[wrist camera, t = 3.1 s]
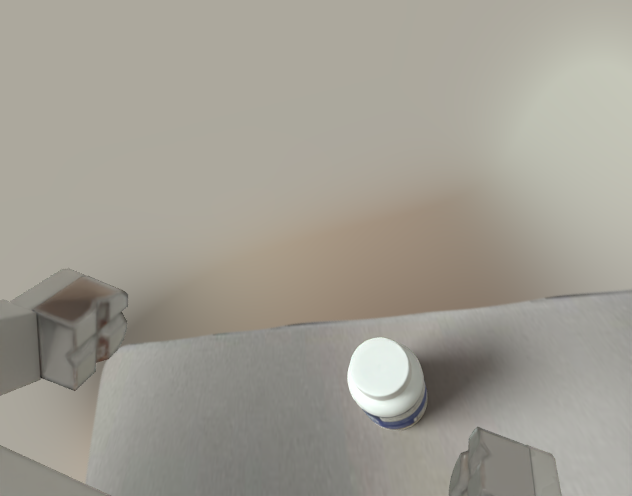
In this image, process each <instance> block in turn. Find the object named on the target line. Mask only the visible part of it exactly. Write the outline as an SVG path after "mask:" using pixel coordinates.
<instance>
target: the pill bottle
mask: <svg viewBox="0 0 632 496" xmlns="http://www.w3.org/2000/svg"><path fill="white" fill-rule="evenodd" d="M348 386H349V389H350V392H351V395H352V396H353V398H354V400H355V401H356V403H357V404H358V405H359V406H360V407H361V408H362V410H363V411H364V412H365V413H366V414H367V415H368V417H369V418H370V419H371V420H372V421H373V422H375V423H376V424H377V425H379V426H380V427H382V428H385V429H388V430H403V429H406V428H409V427H411V426H413V425H414V424H416V423H417V422H418V421H419V420H420V418H421V417H422V416H423V414H424V412H425V409H426V406H427V397H428V395H427V388H426V384H425V380H424V375H423V371H422V368H421V365H420V363H419V361H418V359H417V357H416V356H415V355H414V353H413V352H412V351H411V350H410V349H408V348H407V347H406V346H404V345H402V344H400V343H398V342H395V341H393V340H391V339H388V338H383V337H378V338H372V339H369V340H367V341H365V342H363V343H362V344H361V345H360V346H358V348H357V349H356V350H355V352H354V353H353V355H352V358H351V362H350V365H349V369H348Z"/></svg>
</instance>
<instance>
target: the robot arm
mask: <svg viewBox="0 0 632 496" xmlns="http://www.w3.org/2000/svg"><path fill="white" fill-rule="evenodd" d="M127 306H128V294H127V293H126V292H125V291H123V290H121V289H119V288H116V287H114V286H111V285H109V284H106V283H104V282H102V281H99V280H97V279H94V278H92V277H90V276H86V275H84V274H81V273H79V272H76V271H74V270H71V269H62V270H60V271H58V272H57V273H55V274H53V275H52V276H50V277H49V278H47V279H45V280H44V281H42V282H41V283H39V284H37V285H36V286H34V287H33V288H31V289H29V290H28V291H26V292H24V293H23V294H21V295H20V296H18V297H16V298H15V299H13V300H12V301H10V302H9V301H6V300H0V396H1V395H3V394H6V393H8V392H11V391H13V390H16V389H18V388H21V387H23V386H26V385H28V384H31V383H33V382H36V381H38V380H40V378H43V379H45V380H48V381H51V382H53V383H56V384H58V385H61V386H63V387H66V388H69V389H71V390H74V391H75V390H77V389H78V388H79V387H80V386H81V385H82V384H83V383H84V382H85V381H86V380H87V379H88V378H89V377H90V376H91V375H92V374H94V372H95V371H96V363H97V362H100V361H104V360H107V359H109V358H110V357H111V356H112V355H113V354H114V353H115V352H116V351H117V350H118V348H119V347H120V345H121V343H122V341H123V340H124V336H125V333H126V329H127V321H126V319H125V317H124V315H123V313H122V311H123V310H124V309H125V308H126V307H127ZM0 496H111V495H108V494H106V493H104V492H102V491H100V490H98V489H95V488H93V487H91V486H89V485H87V484H84V483H82V482H80V481H78V480H76V479H73V478H71V477H69V476H67V475H65V474H62V473H60V472H58V471H56V470H53V469H51V468H49V467H47V466H45V465H42V464H40V463H38V462H36V461H34V460H31V459H29V458H27V457H25V456H22V455H20V454H18V453H16V452H14V451H12V450H10V449H7V448H5V447H3V446H1V445H0ZM449 496H562V494H561V489H560V483H559V478H558V472H557V467H556V461H555V458H554V457H553V455H552V454H550V453H548V452H545V451H542V450H539V449H537V448H534V447H531V446H529V445H524V444H522V443H519V442H517V441H514V440H511V439H509V438H506V437H503V436H501V435H498V434H496V433H493V432H490V431H488V430H485V429H482V428H480V427H477V428H476V429H475V430H474V431H473V433H472V434H471V436H470V438H469V449H468V451H466V452H463V453H461V454H460V456H459V458H458V460H457V462H456V464H455V467H454V470H453V473H452V476H451V481H450V487H449Z"/></svg>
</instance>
